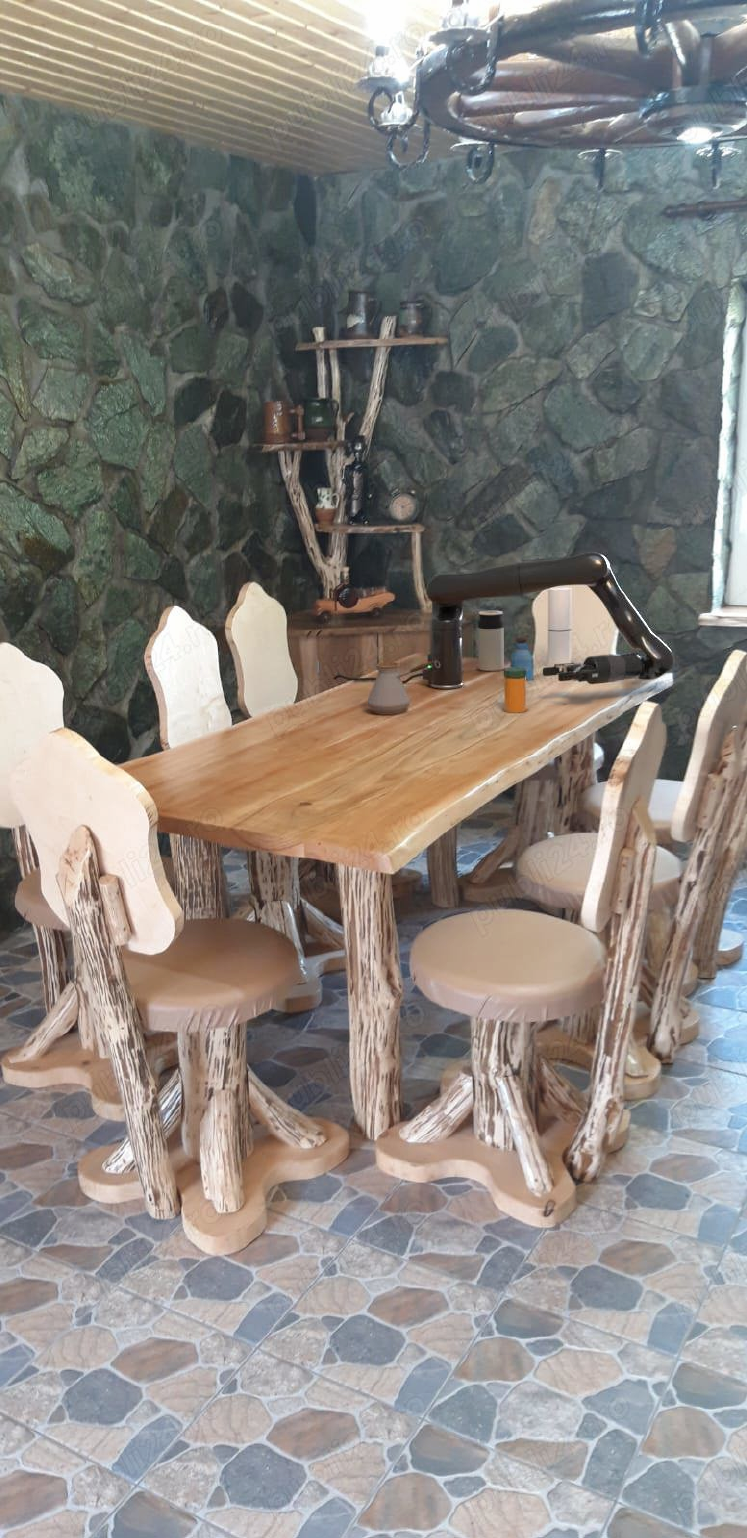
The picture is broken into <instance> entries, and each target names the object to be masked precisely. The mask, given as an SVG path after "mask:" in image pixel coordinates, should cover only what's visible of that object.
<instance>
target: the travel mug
mask: <svg viewBox="0 0 747 1538" xmlns="http://www.w3.org/2000/svg"><path fill="white" fill-rule="evenodd" d="M503 613H504V612H503V611H500V610H481V611H479V612H478V615H479V620H478V622H477V667H478V668H477V669H478V670H480V671H483V672H500V671H502V670H504V669H505V650H504V649H505V648H504V647H505V646H504V645H505V640H504V639H505V635H504V634H505V633H504V632H505V631H504V628H505V625H504V624H505V623H504V620H503V618H502V616H503Z"/></svg>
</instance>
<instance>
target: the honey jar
mask: <svg viewBox="0 0 747 1538" xmlns="http://www.w3.org/2000/svg"><path fill="white" fill-rule="evenodd" d="M503 678H504V681H503V682H504V685H503V687H504V689H503V691H504V695H503V696H504V698H503V699H504V700H503V701H504V705H503V706H504V707H503V708H504V712H507V713H512V714H514V713H515V714H516V713H524V712H526V710H527V680H526V677H523V678H507V677H504V676H503Z"/></svg>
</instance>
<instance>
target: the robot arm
mask: <svg viewBox="0 0 747 1538" xmlns="http://www.w3.org/2000/svg"><path fill="white" fill-rule="evenodd" d="M562 586H563V587H564V586H587V587H588V588H589V589H590V590H591V591H592V592H593V593H594V594H595V595H596V597H597V598H598V599H599V601H600V602H601V603H602V605H603V606H604V607H605V609H606V611H607V612H608V615H609V616H610V618H611V620H612V622H613V624H614V625H615V627H616V628H617V630H618V631H619V633H620V634H621V636H622V638H623V639H624V640H625V642H626V643H627V645H628V647H629V648H631V649H632V650H634V651H639V650H641V651H642V652H643V653H644V654H645V655H642V656H639V655H638V654H637V653H633V652H632V653H630V652H629V653H619V654H615V653H613V654H611V653H609V654H600V655H590V656H586V658H585V659H584V661H583V663H580V662H571V663H565V664H554V667H548V666H546V667H543V668H542V676H544V677H551V676H558V677H557V681H559V682H568V681H573V682H578V683H581V682H587V683H588V684H589V685H600V684H606V683H608V684H609V683H615V682H618V681H626V680H632V679H633V680H640V681H651V680H652V681H653V680H656V679H659V678H661V677H662V676H664V675H665V674H667V673H668V672H669V671H670V670H672V669H673V667H674V666H675V661H676V660H675V656H674V653H673V651H672V650H671V648H670V647H669V646H668V645H667V644H666V643H664V642H663V641H662V640H661V639H660V638H659V637H658V636H657V635H655V634H654V633H653V632H652V631H651V629H650V628H649V626H648V625H647V623H646V622H645V620H644V619H643V618H642V616H641V615H640V613H639V611H637V609H636V608H635V606H634V605H633V604H632V603H631V601H630V600H629V599H628V597H627V596H626V594H625V593H624V591H623V590H622V589H621V587H620V585H619V583H618V582H617V580H616V577H615V575H614V573H613V571H612V569H611V565H610V561H609V560H608V559H607V557H605V556H604V555H603V554H602V553H599V552H598V551H588V552H587V551H586V552H583V553H580V554H576V555H573V556H568V557H564V558H557V559H540V560H527V561H526V560H525V561H517V562H508V563H504V564H500V565H499V564H498V565H496V566H491V567H488V568H485V569H482V570H478V571H474V572H467V573H466V572H465V573H456V572H453V571H450V570H444V571H441V572H439V573H436V574H435V575H433V576H432V577H431V578H430V579H429V581H428V582H427V584H426V588H425V593H426V596H427V598H428V599H429V601H430V602H431V614H430V617H429V649H430V650H429V651H430V653H428V654H427V663H428V662H432V661H434V660H437V661H438V662H437V663H435V664H436V666H437V667H439V666H440V667H439V668H437V667H436V666H435V664H432V666H428V667H426V668H424V669H422V672H421V673H416V674H413V675H411V676H409V677H408V678H406V679H405V680H402V683H403V684H407V683H409V682H410V681H411V680H412V679H414V678H418V677H422V681H427V687H428V688H433V689H441V690H449V689H450V690H451V689H459V688H461V687H463V683H464V682H463V676H464V670H463V633H462V632H463V630H462V629H463V628H462V627H463V626H462V625H463V616H464V601H469V600H475V599H495V598H507V597H509V598H510V597H517V596H525V595H531V594H535V593H539V592H542V591H547V590H548V589H549V588H558V587H562ZM439 663H440V665H439ZM560 668H562V670H561V671H560ZM338 678H342V679H344V680H347V681H355V682H356V681H357V682H358V681H375V680H376V677H348V676H346V675H343V674H336V675H335V676H334V677H333V678H332V680H337V679H338Z"/></svg>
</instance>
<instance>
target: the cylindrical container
mask: <svg viewBox="0 0 747 1538" xmlns="http://www.w3.org/2000/svg"><path fill="white" fill-rule="evenodd" d="M572 602H573V588H571V587H553V588H549V589H547V667H554V664H565V663H572V617H573V616H572V613H573V612H572V609H573V607H572V605H573V603H572ZM561 670H562V668H560V671H561Z"/></svg>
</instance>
